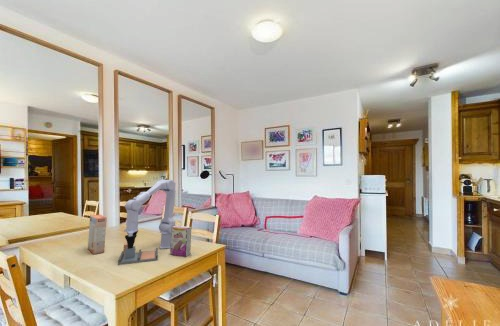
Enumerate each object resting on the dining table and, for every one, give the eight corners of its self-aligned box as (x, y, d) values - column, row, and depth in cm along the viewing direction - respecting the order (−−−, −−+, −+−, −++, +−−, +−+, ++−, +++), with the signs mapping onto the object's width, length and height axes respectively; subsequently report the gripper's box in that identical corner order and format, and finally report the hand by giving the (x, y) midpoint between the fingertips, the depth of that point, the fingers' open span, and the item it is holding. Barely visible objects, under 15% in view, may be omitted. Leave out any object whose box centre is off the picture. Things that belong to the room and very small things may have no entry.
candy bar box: (169, 254, 132) (170, 226, 132) (175, 252, 136) (176, 225, 137) (185, 257, 128) (186, 228, 129) (190, 254, 133) (191, 226, 133)
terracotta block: (132, 250, 138) (132, 242, 138) (131, 252, 133) (132, 244, 134) (124, 251, 136) (124, 242, 136) (123, 253, 132) (123, 245, 132)
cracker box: (105, 252, 132) (107, 217, 134) (92, 255, 128) (95, 218, 129) (98, 247, 142) (100, 213, 143) (87, 249, 138) (89, 215, 139)
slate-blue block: (134, 255, 127) (135, 246, 127) (134, 257, 122) (134, 248, 123) (125, 256, 125) (126, 246, 125) (124, 258, 121) (125, 249, 121)
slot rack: (157, 252, 136) (157, 247, 136) (157, 260, 123) (157, 255, 123) (121, 255, 128) (122, 251, 128) (118, 264, 115) (118, 260, 115)
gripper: (125, 219, 130) (124, 242, 129) (122, 224, 117) (121, 251, 116) (139, 218, 133) (138, 241, 132) (137, 223, 119) (136, 249, 119)
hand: (131, 246), depth 124 cm, fingers open, 7 cm apart
